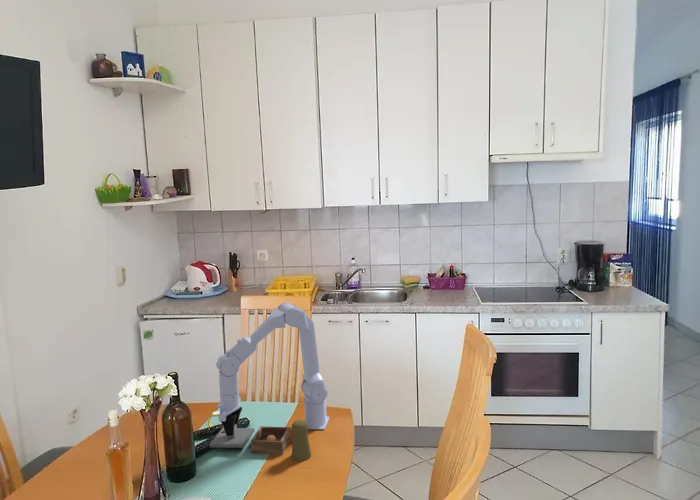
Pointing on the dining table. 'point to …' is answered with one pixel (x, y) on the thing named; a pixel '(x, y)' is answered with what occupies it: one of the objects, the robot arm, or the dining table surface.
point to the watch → (212, 416)
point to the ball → (271, 438)
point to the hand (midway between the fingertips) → (231, 432)
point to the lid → (232, 438)
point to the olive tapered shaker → (300, 441)
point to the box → (270, 447)
